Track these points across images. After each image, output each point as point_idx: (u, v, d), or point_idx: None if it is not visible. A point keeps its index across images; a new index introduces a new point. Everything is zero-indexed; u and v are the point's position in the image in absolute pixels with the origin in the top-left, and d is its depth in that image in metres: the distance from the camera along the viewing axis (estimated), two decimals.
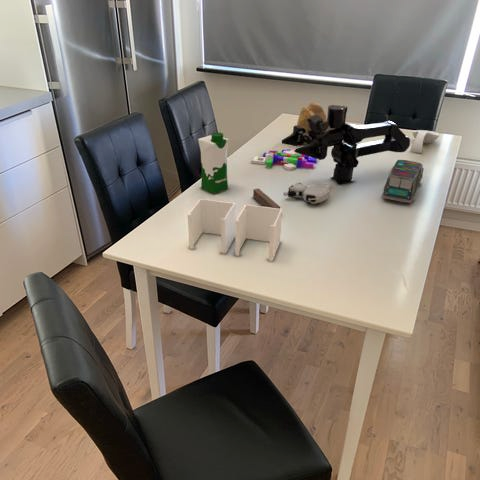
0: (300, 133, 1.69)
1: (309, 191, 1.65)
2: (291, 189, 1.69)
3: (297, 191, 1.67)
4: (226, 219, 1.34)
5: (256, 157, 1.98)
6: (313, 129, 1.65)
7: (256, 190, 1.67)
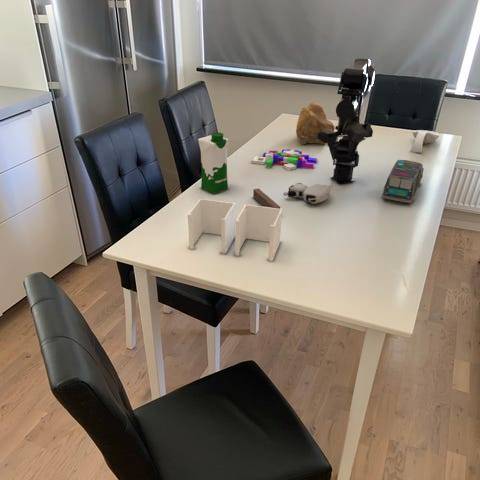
0: None
1: (309, 191, 1.65)
2: (291, 189, 1.69)
3: (297, 191, 1.67)
4: (226, 219, 1.34)
5: (256, 157, 1.98)
6: None
7: (256, 190, 1.67)
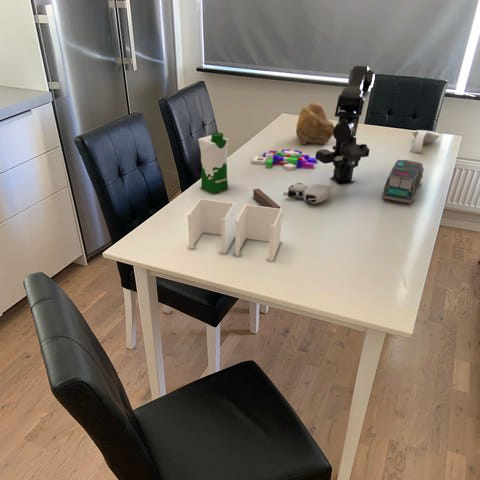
0: None
1: (309, 191, 1.65)
2: (291, 189, 1.69)
3: (297, 191, 1.67)
4: (226, 219, 1.34)
5: (256, 157, 1.98)
6: None
7: (256, 190, 1.67)
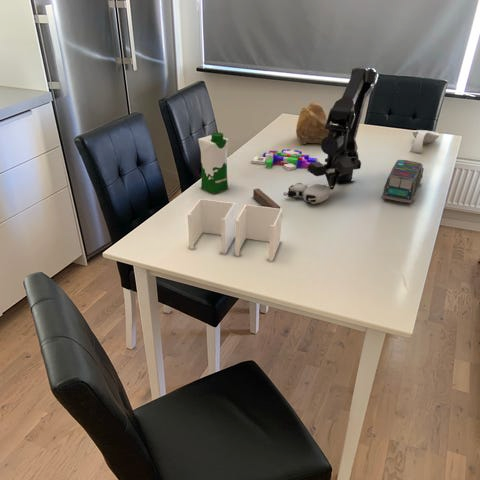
0: None
1: (309, 191, 1.65)
2: (291, 189, 1.69)
3: (297, 191, 1.67)
4: (226, 219, 1.34)
5: (256, 157, 1.98)
6: None
7: (256, 190, 1.67)
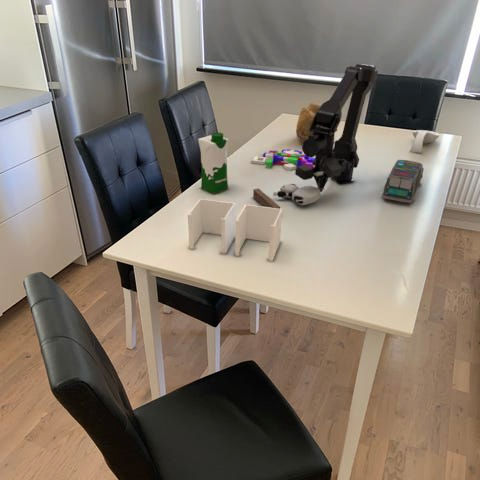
0: None
1: (298, 192, 1.64)
2: (282, 189, 1.68)
3: (287, 192, 1.67)
4: (226, 219, 1.34)
5: (256, 157, 1.98)
6: None
7: (256, 190, 1.67)
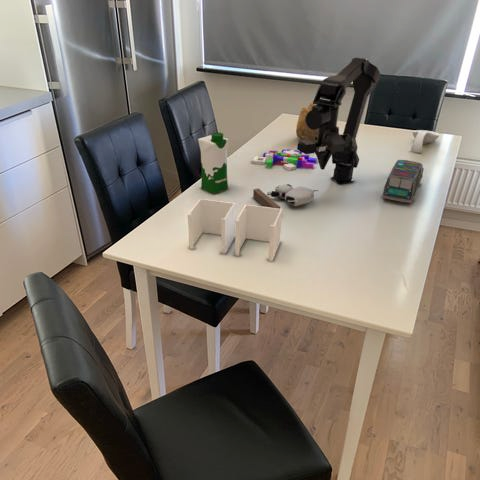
0: None
1: (291, 192, 1.63)
2: (276, 189, 1.68)
3: (281, 192, 1.67)
4: (226, 219, 1.34)
5: (256, 157, 1.98)
6: None
7: (256, 190, 1.67)
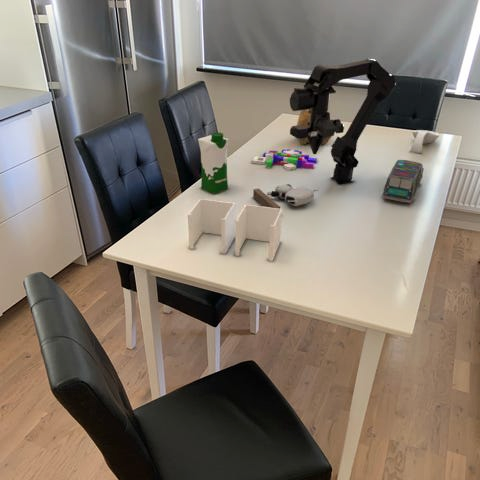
0: None
1: (291, 192, 1.63)
2: (276, 189, 1.68)
3: (281, 192, 1.67)
4: (226, 219, 1.34)
5: (256, 157, 1.98)
6: None
7: (256, 190, 1.67)
